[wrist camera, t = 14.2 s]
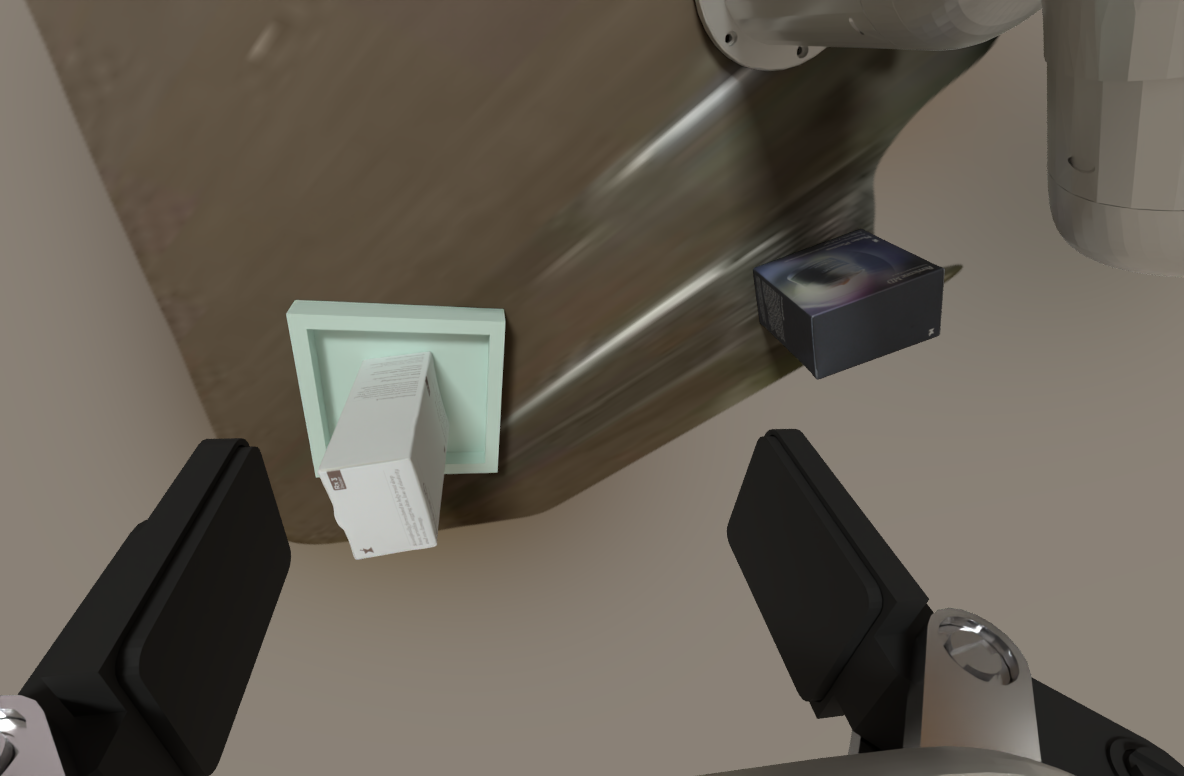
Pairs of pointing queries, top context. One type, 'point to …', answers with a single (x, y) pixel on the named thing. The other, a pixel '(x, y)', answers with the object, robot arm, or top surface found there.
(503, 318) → the tray
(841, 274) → the small box
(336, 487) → the skincare box
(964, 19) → the robot arm
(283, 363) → the top surface
